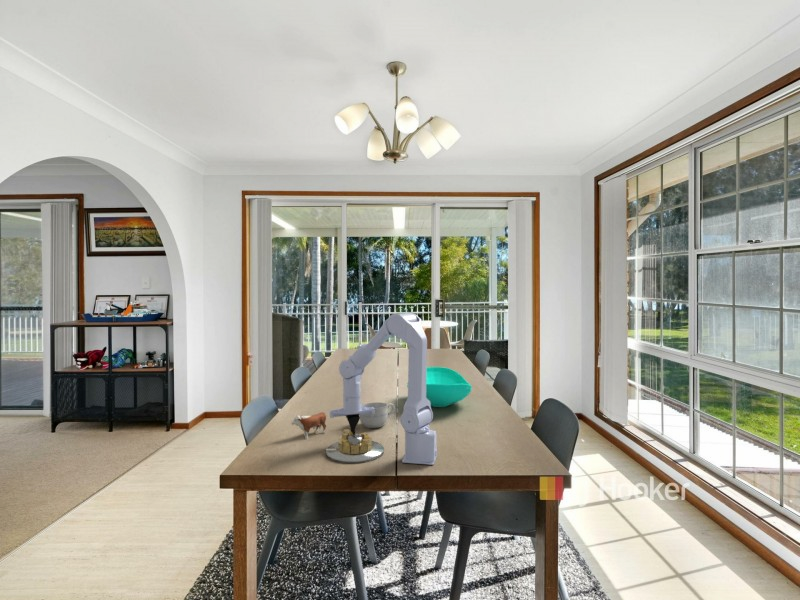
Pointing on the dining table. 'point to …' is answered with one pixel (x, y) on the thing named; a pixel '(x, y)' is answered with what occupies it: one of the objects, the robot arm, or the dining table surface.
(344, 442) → the ring nut
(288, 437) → the dining table surface
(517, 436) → the dining table surface
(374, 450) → the flange
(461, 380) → the table top decor
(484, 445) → the dining table surface
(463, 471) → the dining table surface
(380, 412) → the teacup
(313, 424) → the bull figurine
